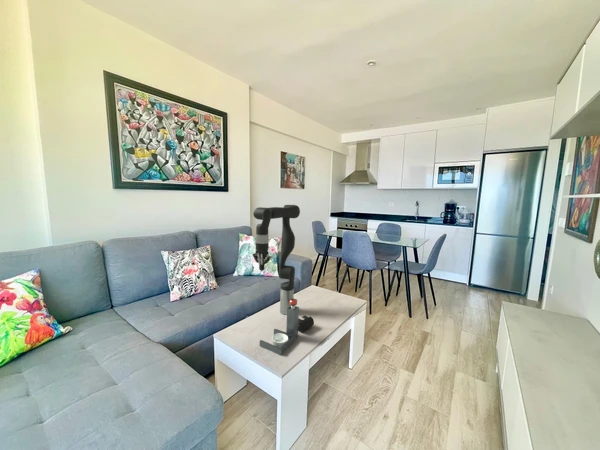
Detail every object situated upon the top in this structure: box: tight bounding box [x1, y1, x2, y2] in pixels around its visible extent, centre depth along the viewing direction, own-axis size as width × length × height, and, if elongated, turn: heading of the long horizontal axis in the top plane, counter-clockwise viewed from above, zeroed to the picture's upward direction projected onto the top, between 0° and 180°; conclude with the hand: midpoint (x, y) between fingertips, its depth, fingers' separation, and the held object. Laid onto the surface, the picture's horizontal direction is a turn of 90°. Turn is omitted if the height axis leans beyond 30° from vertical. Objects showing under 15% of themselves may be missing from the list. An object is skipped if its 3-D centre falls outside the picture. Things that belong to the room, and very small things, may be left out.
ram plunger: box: [289, 298, 298, 310], centre depth 140 cm, size 4×4×11 cm
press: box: [259, 305, 300, 356], centre depth 136 cm, size 19×14×18 cm
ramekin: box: [271, 333, 288, 348], centre depth 134 cm, size 9×9×4 cm
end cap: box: [298, 315, 315, 333], centre depth 150 cm, size 10×7×7 cm
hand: (261, 270), depth 145 cm, fingers closed
